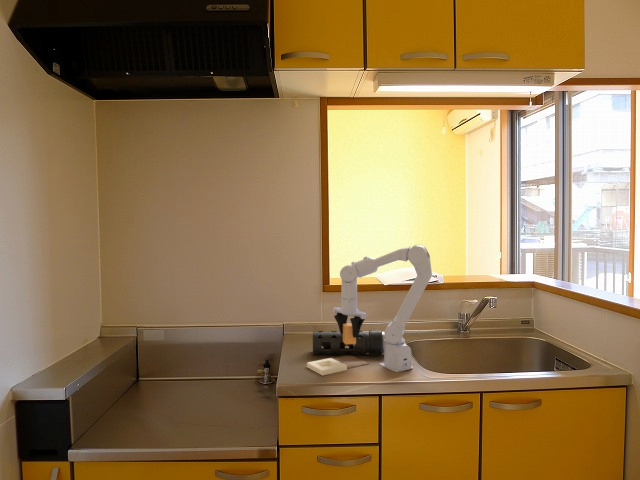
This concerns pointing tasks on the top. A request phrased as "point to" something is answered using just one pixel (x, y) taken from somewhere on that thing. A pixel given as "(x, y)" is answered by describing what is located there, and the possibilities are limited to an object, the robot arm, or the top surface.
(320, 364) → the socket block
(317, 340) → the muzzle brake
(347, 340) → the plug
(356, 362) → the pad
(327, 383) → the top surface
